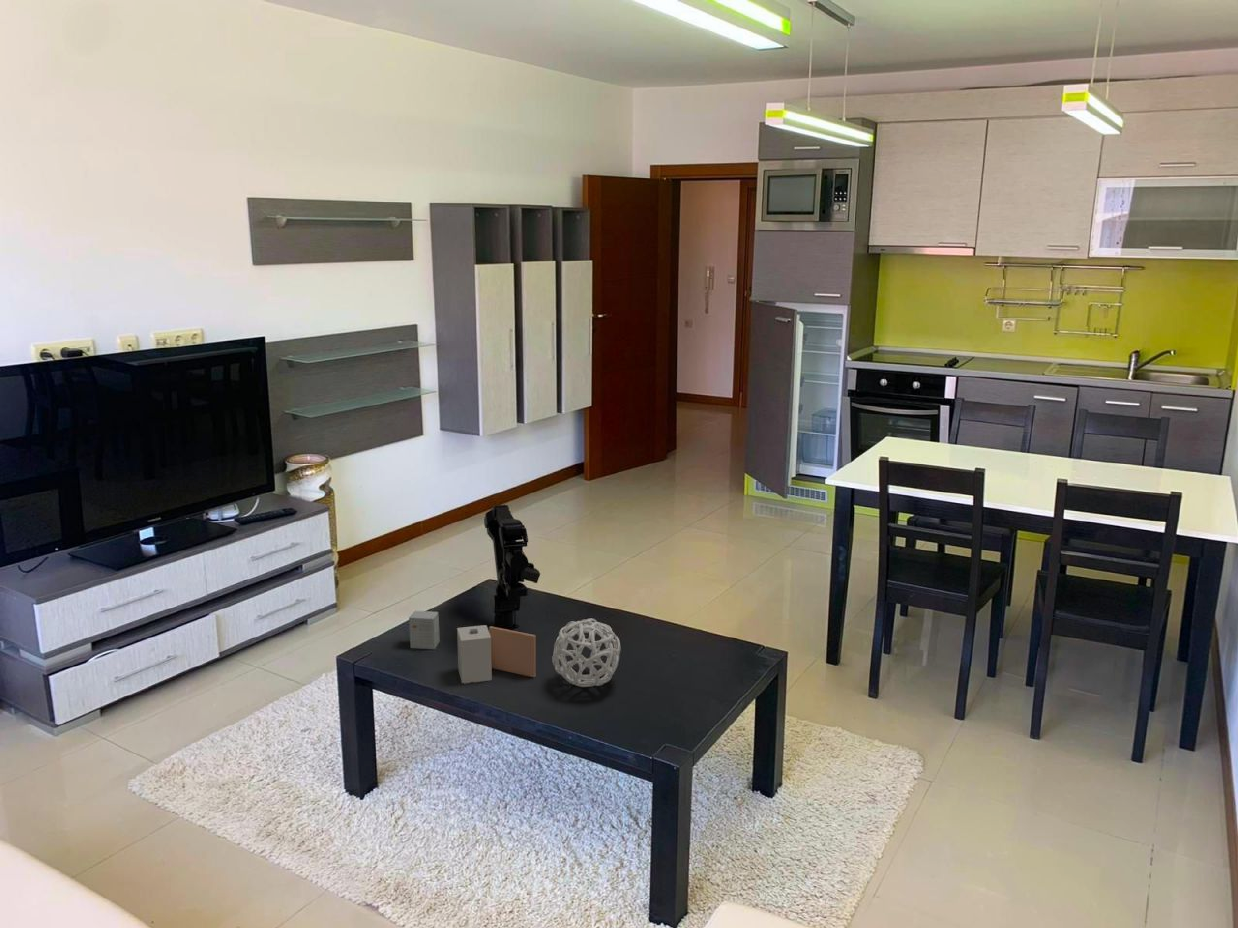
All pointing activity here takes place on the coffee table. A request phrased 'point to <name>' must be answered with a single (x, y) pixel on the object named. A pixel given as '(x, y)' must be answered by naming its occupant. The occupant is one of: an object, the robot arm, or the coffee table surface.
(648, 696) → the coffee table surface
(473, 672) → the beige rectangular box
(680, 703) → the coffee table surface
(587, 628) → the decorative ball
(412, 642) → the small box
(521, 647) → the side door
